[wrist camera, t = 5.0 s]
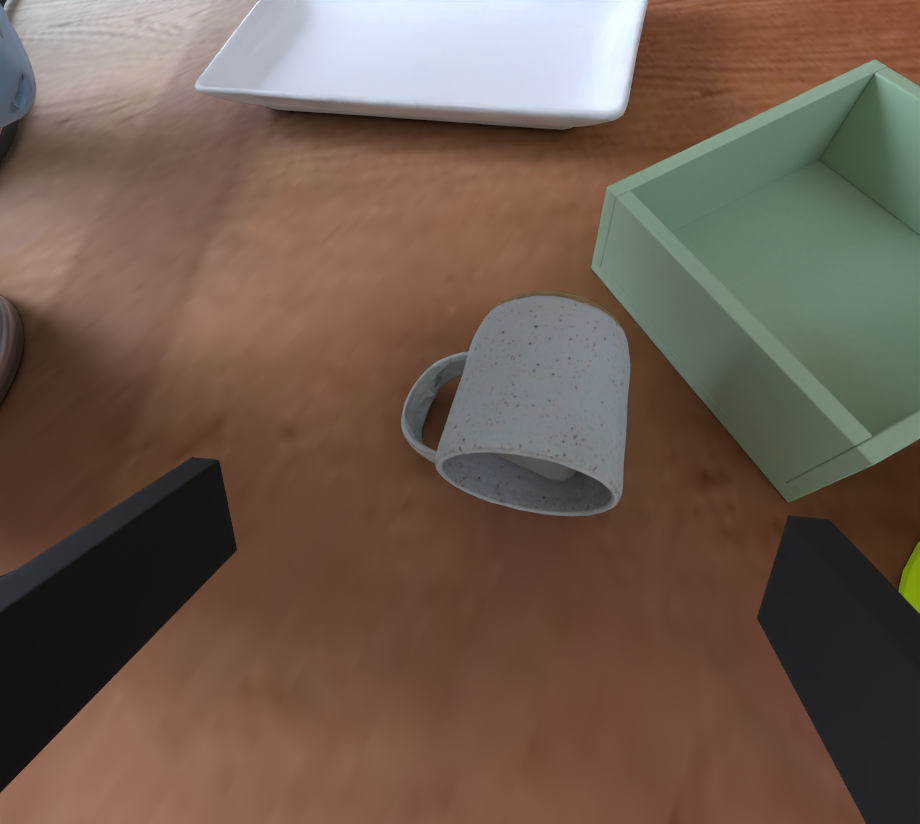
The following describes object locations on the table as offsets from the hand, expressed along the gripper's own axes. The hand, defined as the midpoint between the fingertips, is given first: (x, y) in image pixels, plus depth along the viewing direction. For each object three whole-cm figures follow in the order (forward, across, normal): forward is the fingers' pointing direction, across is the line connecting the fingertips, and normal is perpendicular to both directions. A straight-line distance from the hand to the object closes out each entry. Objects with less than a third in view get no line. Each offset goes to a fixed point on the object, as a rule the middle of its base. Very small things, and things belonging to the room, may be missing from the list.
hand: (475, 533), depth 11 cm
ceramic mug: (+13, 0, -3) cm, 14 cm away
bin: (+20, +15, +3) cm, 25 cm away
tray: (+35, -9, +18) cm, 40 cm away
